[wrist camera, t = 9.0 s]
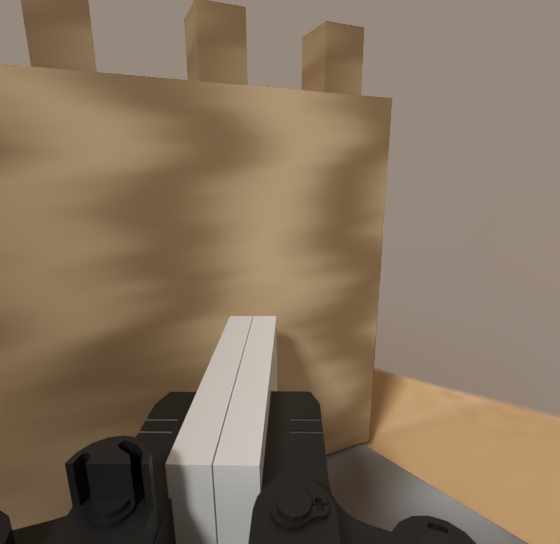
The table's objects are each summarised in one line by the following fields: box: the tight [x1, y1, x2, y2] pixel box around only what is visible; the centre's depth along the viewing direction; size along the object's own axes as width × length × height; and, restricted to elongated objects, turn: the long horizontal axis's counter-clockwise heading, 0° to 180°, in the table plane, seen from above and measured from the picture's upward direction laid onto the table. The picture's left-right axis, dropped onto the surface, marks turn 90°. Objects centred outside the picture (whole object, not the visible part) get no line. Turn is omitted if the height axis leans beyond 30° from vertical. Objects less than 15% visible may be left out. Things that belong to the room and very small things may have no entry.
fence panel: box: [0, 0, 392, 530], centre depth 12 cm, size 16×2×16 cm, turn 114°
